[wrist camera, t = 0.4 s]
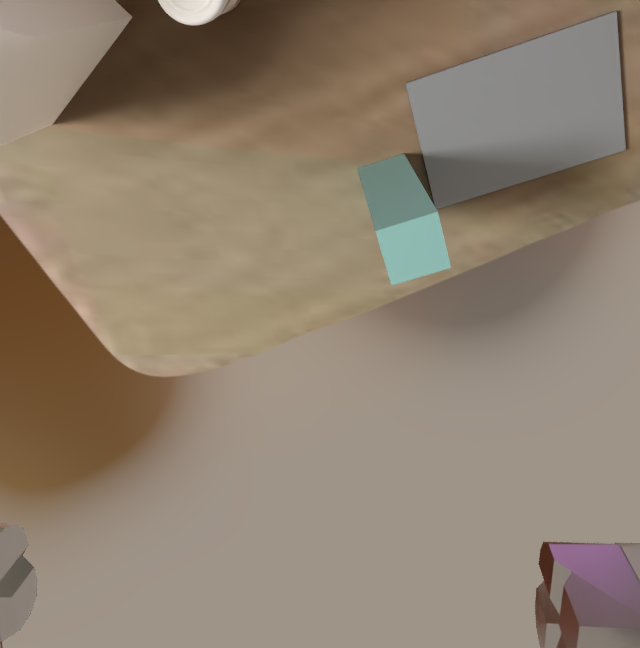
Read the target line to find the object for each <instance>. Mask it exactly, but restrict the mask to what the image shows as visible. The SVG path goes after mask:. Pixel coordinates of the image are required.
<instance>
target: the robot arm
mask: <svg viewBox="0 0 640 648" xmlns="http://www.w3.org/2000/svg"><path fill="white" fill-rule="evenodd" d="M27 547H28V541H27V538H26V535H25V532H24V529H23V528H22V527H20V526H18V525H16V524H7V523H0V648H3V647H2V641H4V640H5V639H7V638H8V637H10V636H11V635H13V634H15V633H16V632H17V631H19V630H20V629H21V628H22V626H23V625H24V623H25V621H26V620H27V619H28V617H29V616H30V614H31V611H32V608H33V605H34V602H35V599H36V596H37V577H36V573H35V569H34V567H33V566H32V565H31V564H30V563H29V562H28V561H27V560H26V559H25V558H24V557H23V554H24V552H25V550H26V548H27ZM539 566H540V569H541V572H542V576H543V578H544V581H543V582H542V583H541V584H540V585H539V586H538V587H537V588H536V600H535V615H536V628H537V634H538V639H539V644H540V648H640V543H614V544H604V543H571V542H543V544H542V547H541V549H540V557H539Z"/></svg>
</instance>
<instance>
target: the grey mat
mask: <svg viewBox="0 0 640 648" xmlns="http://www.w3.org/2000/svg"><path fill="white" fill-rule="evenodd" d="M406 87H407V92H408V96H409V100H410V104H411V108H412V113H413V117H414V121H415V125H416V130H417V134H418V138H419V142H420V146H421V151H422V155H423V159H424V163H425V168H426V172H427V176H428V180H429V184H430V189H431V193H432V197H433V201H434V205H435V208H436V209H440V208H443V207H446V206H449V205H452V204H455V203H459V202H462V201H465V200H468V199H471V198H475V197H478V196H481V195H484V194H487V193H491V192H494V191H497V190H500V189H503V188H507V187H510V186H513V185H516V184H519V183H523V182H526V181H529V180H532V179H535V178H539V177H542V176H545V175H548V174H551V173H555V172H558V171H561V170H564V169H567V168H571V167H574V166H577V165H580V164H583V163H586V162H590V161H593V160H596V159H599V158H602V157H606V156H609V155H612V154H615V153H618V152H622V151H625V150H626V145H625V130H624V115H623V100H622V84H621V69H620V54H619V39H618V23H617V11H613V12H610V13H608V14H605V15H602V16H599V17H596V18H593V19H590V20H587V21H584V22H581V23H578V24H576V25H573V26H570V27H567V28H564V29H561V30H558V31H555V32H552V33H549V34H547V35H544V36H541V37H538V38H535V39H532V40H529V41H526V42H523V43H520V44H517V45H515V46H512V47H509V48H506V49H503V50H500V51H497V52H494V53H491V54H488V55H485V56H483V57H480V58H477V59H474V60H471V61H468V62H465V63H462V64H459V65H456V66H454V67H451V68H448V69H445V70H442V71H439V72H436V73H433V74H430V75H427V76H424V77H422V78H419V79H416V80H413V81H410V82H407V83H406Z"/></svg>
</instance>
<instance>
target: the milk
mask: <svg viewBox="0 0 640 648" xmlns="http://www.w3.org/2000/svg"><path fill="white" fill-rule="evenodd" d="M131 19H132V16H131V15H130V14H129V13H128V12H127V11H126V10H125V9H124V8H123V7H122V6H121V5H119V4H118V3H117V2H116V1H115V0H0V147H1V146H3V145H5V144H8V143H10V142H13V141H15V140H17V139H20V138H22V137H24V136H27V135H29V134H32V133H34V132H36V131H39V130H41V129H43V128H46V127H48V126H51V125H53V123H54V122H55V121H56V119H57V118H58V117H59V115H60V114H61V113H62V111H63V110H64V109H65V107H66V106H67V105H68V103H69V102H70V101H71V99H72V98H73V97H74V95H75V94H76V92H77V91H78V90H79V88H80V87H81V86H82V84H83V83H84V82H85V80H86V79H87V78H88V76H89V75H90V74H91V72H92V71H93V70H94V68H95V67H96V66H97V64H98V63H99V62H100V60H101V59H102V58H103V56H104V55H105V54H106V52H107V51H108V50H109V48H110V47H111V46H112V44H113V43H114V42H115V40H116V39H117V38H118V36H119V35H120V34H121V32H122V31H123V30H124V28H125V27H126V25H127V24H128V23H129V21H130V20H131Z"/></svg>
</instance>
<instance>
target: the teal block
mask: <svg viewBox="0 0 640 648" xmlns="http://www.w3.org/2000/svg"><path fill="white" fill-rule="evenodd" d="M358 173H359V176H360V180H361V183H362V187H363V190H364V193H365V197H366V200H367V204H368V207H369V211H370V214H371V218H372V221H373V224H374V228H375V231H376V235H377V238H378V242H379V245H380V248H381V252H382V255H383V258H384V262H385V265H386V269H387V272H388V275H389V279H390V282H391V285H395V284H398V283H401V282H405V281H408V280H411V279H415V278H418V277H422V276H425V275H428V274H432V273H435V272H438V271H442V270H445V269H448V268H451V266H450V261H449V257H448V253H447V249H446V244H445V240H444V236H443V232H442V228H441V223H440V219H439V215H438V211H437V210H436V208H435V206H434V204H433V203H432V201H431V199H430V197H429V196H428V194H427V192H426V191H425V189H424V187H423V185H422V184H421V182H420V180H419V179H418V177H417V175H416V173H415V172H414V170H413V168H412V166H411V165H410V163H409V161H408V160H407V158H406V156H405V154H401V155H398V156H395V157H392V158H389V159H385V160H382V161H379V162H376V163H373V164H370V165H367V166H364V167H361V168H358Z"/></svg>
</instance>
